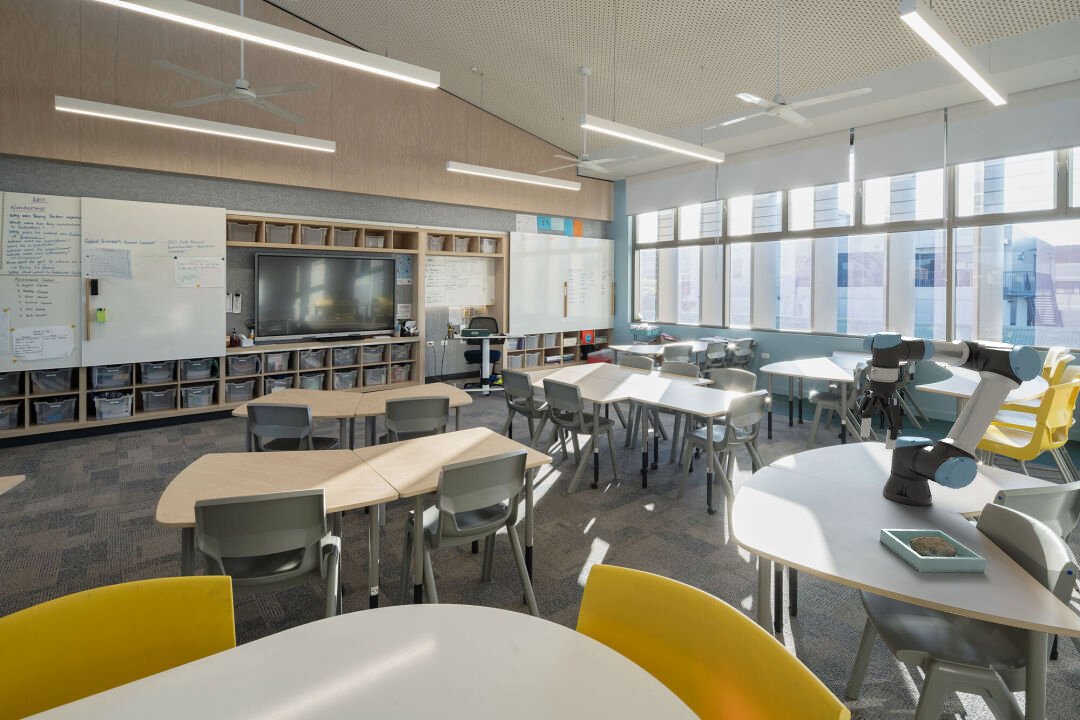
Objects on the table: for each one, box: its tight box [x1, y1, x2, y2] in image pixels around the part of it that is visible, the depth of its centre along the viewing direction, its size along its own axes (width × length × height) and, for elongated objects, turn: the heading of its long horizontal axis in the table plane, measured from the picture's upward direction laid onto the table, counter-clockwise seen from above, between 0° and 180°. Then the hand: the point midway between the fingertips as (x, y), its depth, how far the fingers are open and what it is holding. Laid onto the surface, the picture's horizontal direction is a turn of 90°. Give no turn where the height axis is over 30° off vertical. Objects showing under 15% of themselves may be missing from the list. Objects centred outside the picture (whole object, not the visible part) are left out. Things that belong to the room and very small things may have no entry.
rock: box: [910, 537, 957, 557], centre depth 161 cm, size 8×11×4 cm
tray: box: [879, 528, 987, 574], centre depth 161 cm, size 18×18×4 cm
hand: (877, 442), depth 183 cm, fingers open, 13 cm apart
